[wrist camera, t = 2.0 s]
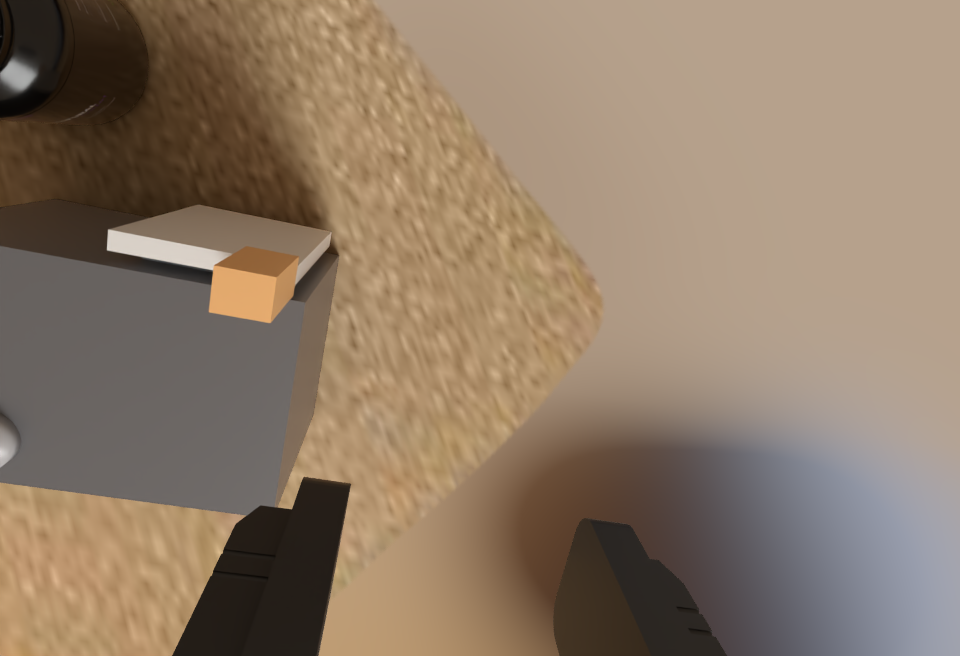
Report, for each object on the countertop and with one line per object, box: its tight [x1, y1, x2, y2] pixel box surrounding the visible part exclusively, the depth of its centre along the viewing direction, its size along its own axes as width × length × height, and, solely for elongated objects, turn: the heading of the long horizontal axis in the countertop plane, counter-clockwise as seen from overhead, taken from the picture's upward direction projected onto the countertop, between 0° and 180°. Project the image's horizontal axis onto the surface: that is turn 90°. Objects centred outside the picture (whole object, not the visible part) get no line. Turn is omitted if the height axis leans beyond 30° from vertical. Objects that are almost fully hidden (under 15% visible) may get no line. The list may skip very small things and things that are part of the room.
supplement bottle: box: [0, 0, 148, 125], centre depth 26 cm, size 7×7×12 cm
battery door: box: [107, 205, 332, 323], centre depth 27 cm, size 2×7×14 cm, turn 78°
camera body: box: [0, 199, 339, 515], centre depth 30 cm, size 10×17×12 cm, turn 77°
